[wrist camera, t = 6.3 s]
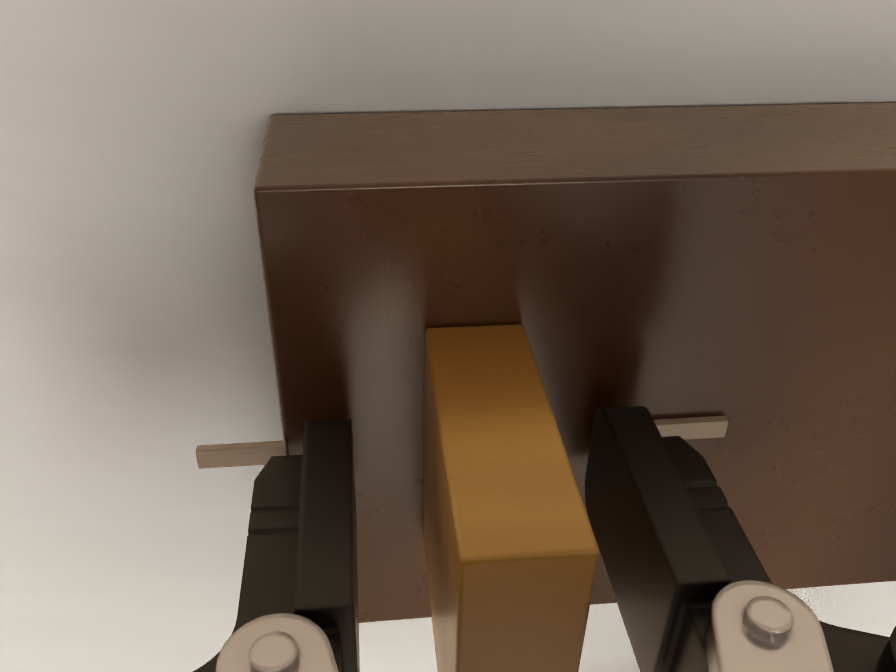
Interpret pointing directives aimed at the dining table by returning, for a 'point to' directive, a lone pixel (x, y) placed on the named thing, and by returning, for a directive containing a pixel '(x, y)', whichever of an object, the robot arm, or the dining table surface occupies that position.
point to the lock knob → (500, 510)
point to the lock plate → (599, 305)
